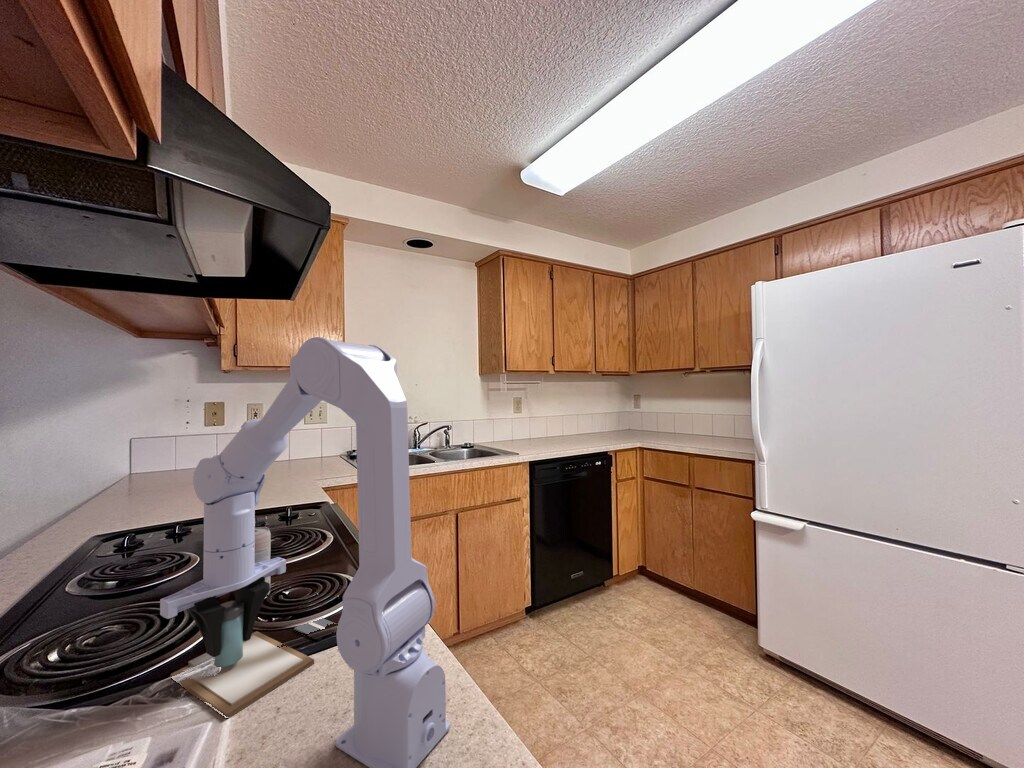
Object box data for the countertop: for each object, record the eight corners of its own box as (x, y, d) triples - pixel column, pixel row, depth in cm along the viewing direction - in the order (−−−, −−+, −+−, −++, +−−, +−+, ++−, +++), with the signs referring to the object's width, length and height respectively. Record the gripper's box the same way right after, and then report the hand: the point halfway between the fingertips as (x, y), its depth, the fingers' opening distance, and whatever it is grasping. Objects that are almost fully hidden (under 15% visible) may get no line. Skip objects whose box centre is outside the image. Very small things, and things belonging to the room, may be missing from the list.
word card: (341, 628, 65) (341, 625, 65) (318, 641, 61) (318, 638, 61) (317, 618, 68) (317, 615, 68) (294, 630, 64) (294, 627, 64)
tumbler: (248, 655, 56) (249, 604, 56) (221, 670, 53) (221, 616, 53) (235, 648, 57) (236, 598, 57) (208, 662, 54) (208, 609, 55)
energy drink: (264, 587, 79) (264, 524, 79) (275, 595, 76) (275, 530, 76) (231, 598, 75) (232, 532, 75) (242, 607, 71) (242, 538, 72)
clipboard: (314, 663, 56) (314, 655, 56) (226, 719, 47) (226, 709, 47) (256, 635, 63) (256, 627, 63) (170, 678, 54) (170, 670, 54)
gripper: (266, 524, 64) (266, 612, 63) (149, 557, 51) (148, 668, 51) (294, 531, 60) (294, 624, 60) (175, 569, 47) (174, 687, 47)
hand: (229, 645), depth 55 cm, fingers closed on tumbler, 3 cm apart
